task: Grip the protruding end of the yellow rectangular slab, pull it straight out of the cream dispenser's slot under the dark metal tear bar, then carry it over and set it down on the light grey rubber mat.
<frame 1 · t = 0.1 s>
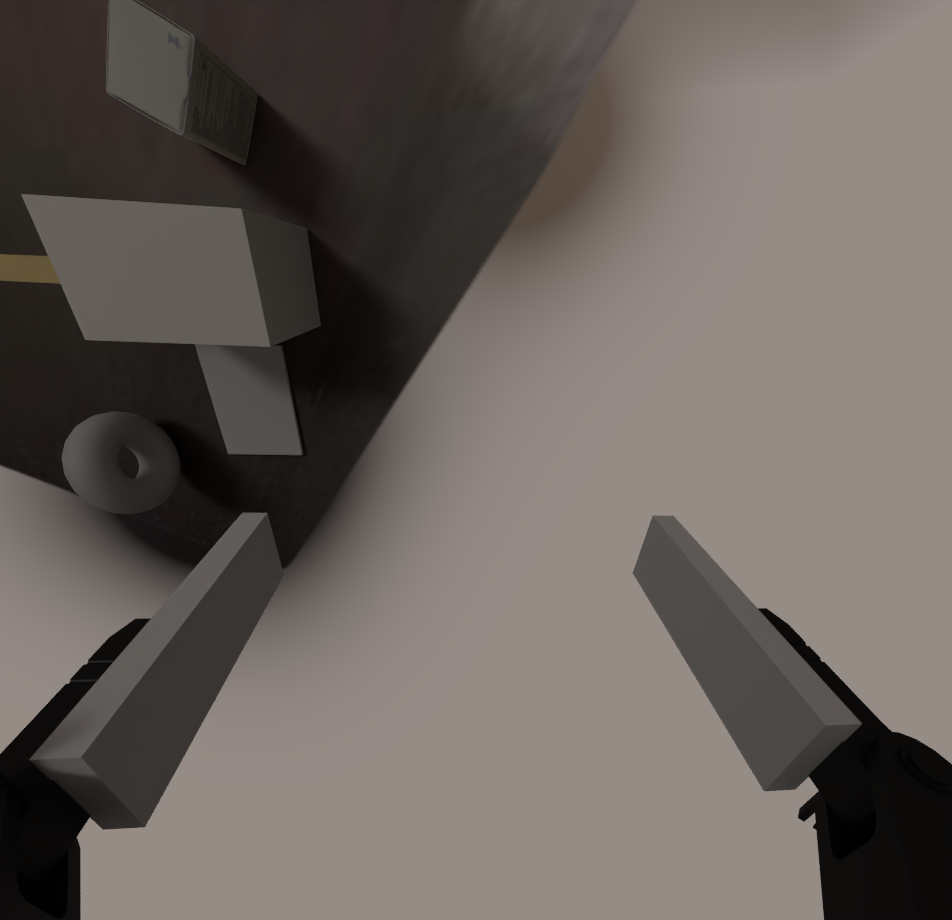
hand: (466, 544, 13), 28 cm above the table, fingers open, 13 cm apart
yellow rectangular slab: (158, 271, 32), on the table
donut: (166, 440, 39), on the table
dispenser: (246, 276, 32), on the table
small box: (225, 117, 28), on the table
mat: (254, 402, 38), on the table
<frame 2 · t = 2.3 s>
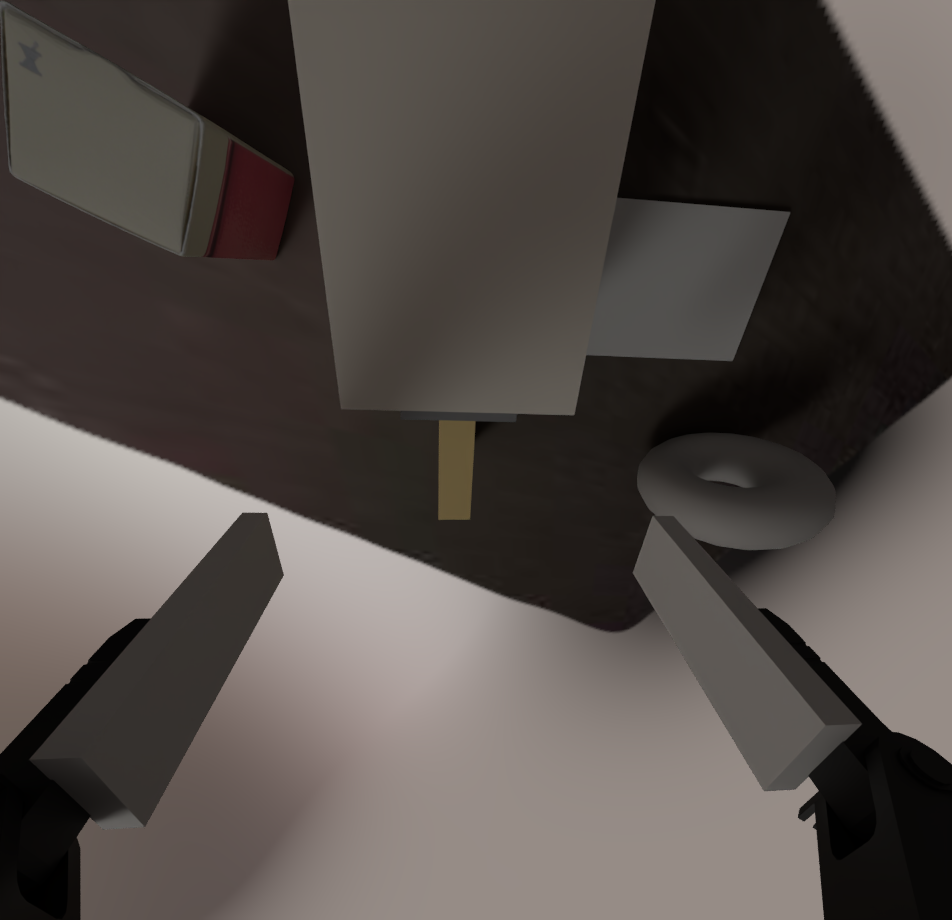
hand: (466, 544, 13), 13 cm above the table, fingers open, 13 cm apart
yellow rectangular slab: (454, 372, 23), on the table
donut: (677, 446, 27), on the table
dispenser: (457, 232, 19), on the table
small box: (237, 193, 18), on the table
mat: (659, 287, 21), on the table
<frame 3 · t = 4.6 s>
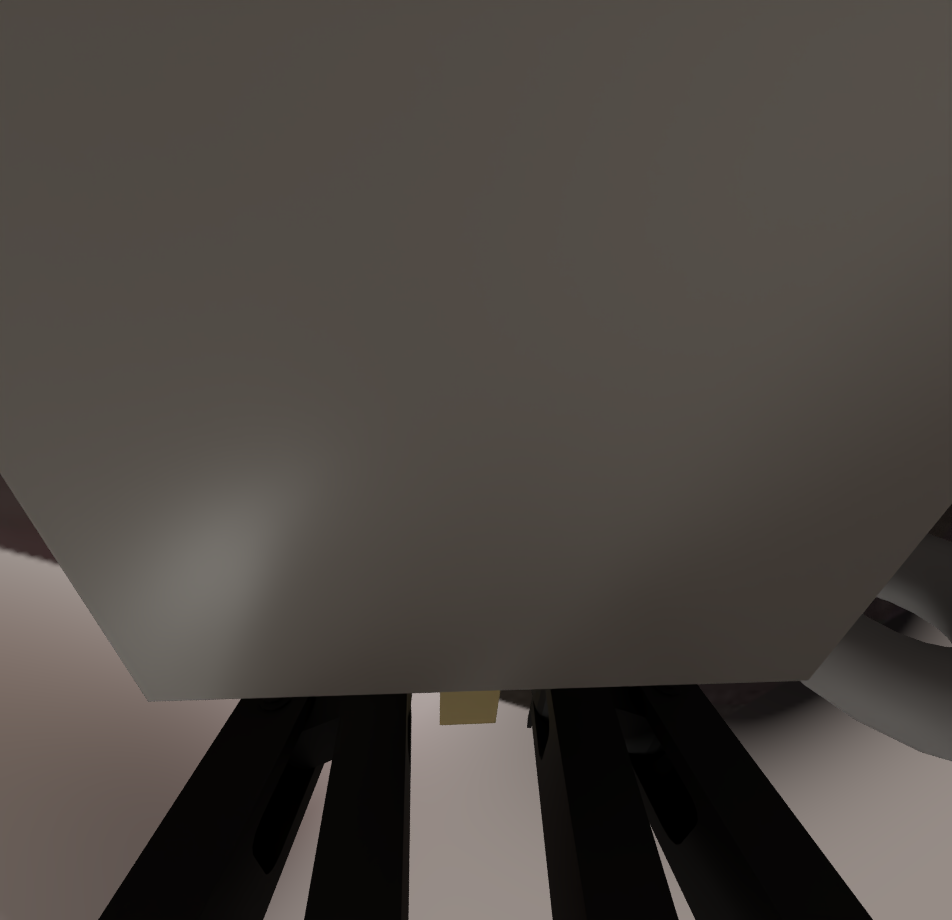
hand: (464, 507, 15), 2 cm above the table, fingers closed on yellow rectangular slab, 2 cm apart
yellow rectangular slab: (465, 435, 15), on the table, touching gripper
donut: (783, 529, 19), on the table
dispenser: (475, 216, 11), on the table
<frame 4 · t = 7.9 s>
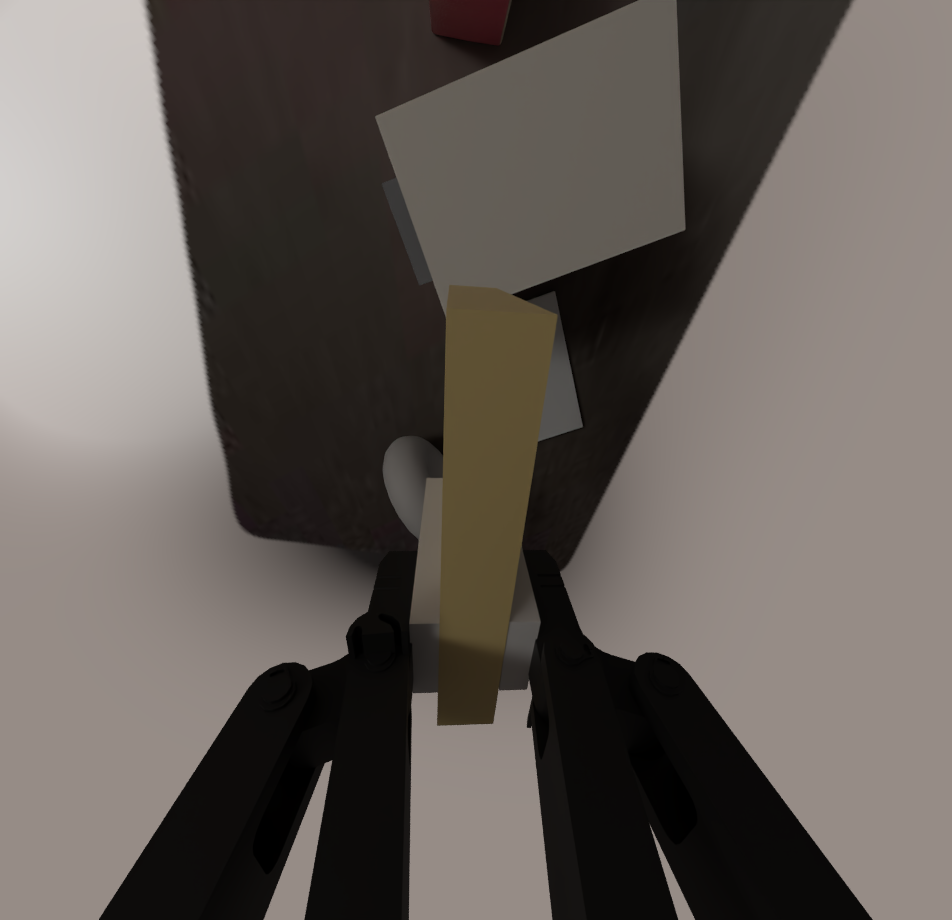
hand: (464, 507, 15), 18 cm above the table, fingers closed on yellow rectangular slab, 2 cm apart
yellow rectangular slab: (465, 434, 15), point 17 cm above the table, touching gripper
donut: (431, 460, 35), on the table
dispenser: (507, 212, 25), on the table
mat: (524, 379, 31), on the table
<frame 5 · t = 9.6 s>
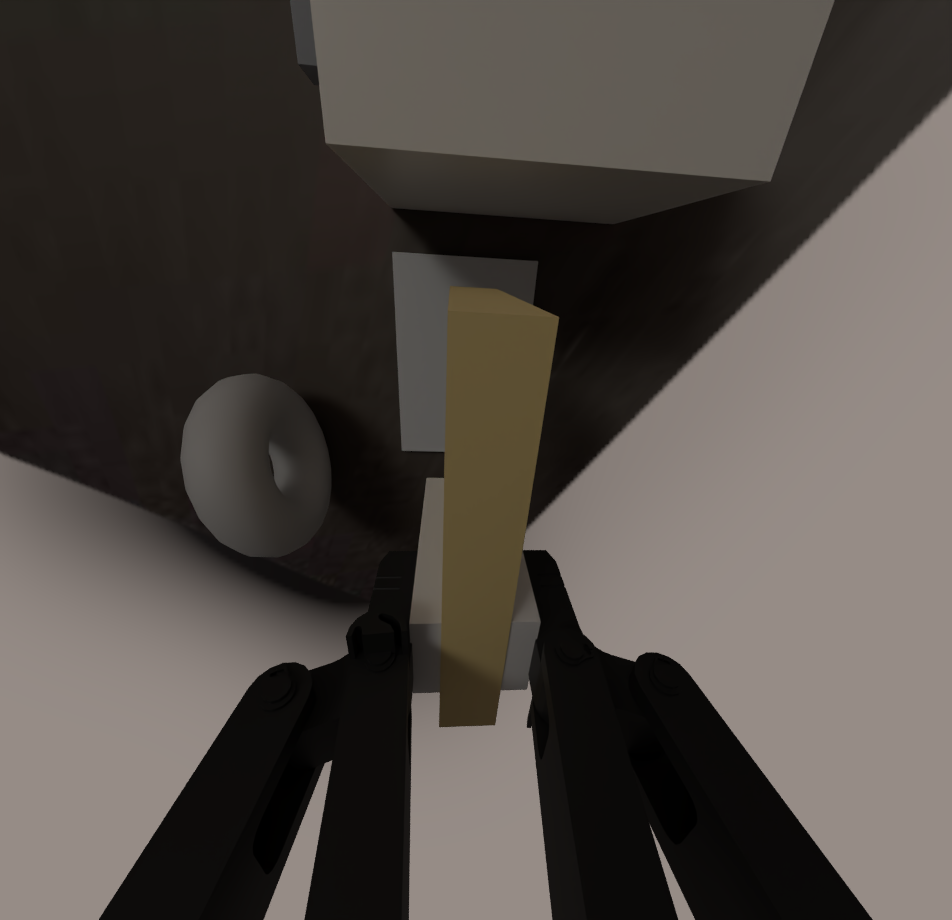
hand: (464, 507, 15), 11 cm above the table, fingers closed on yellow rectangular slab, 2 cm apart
yellow rectangular slab: (466, 435, 15), point 9 cm above the table, touching gripper
donut: (305, 428, 24), on the table
dispenser: (512, 116, 17), on the table
mat: (462, 365, 23), on the table
when the fingers open (3 cm above the table, at t = 11.3 s): yellow rectangular slab drops 1 cm, resting on mat.
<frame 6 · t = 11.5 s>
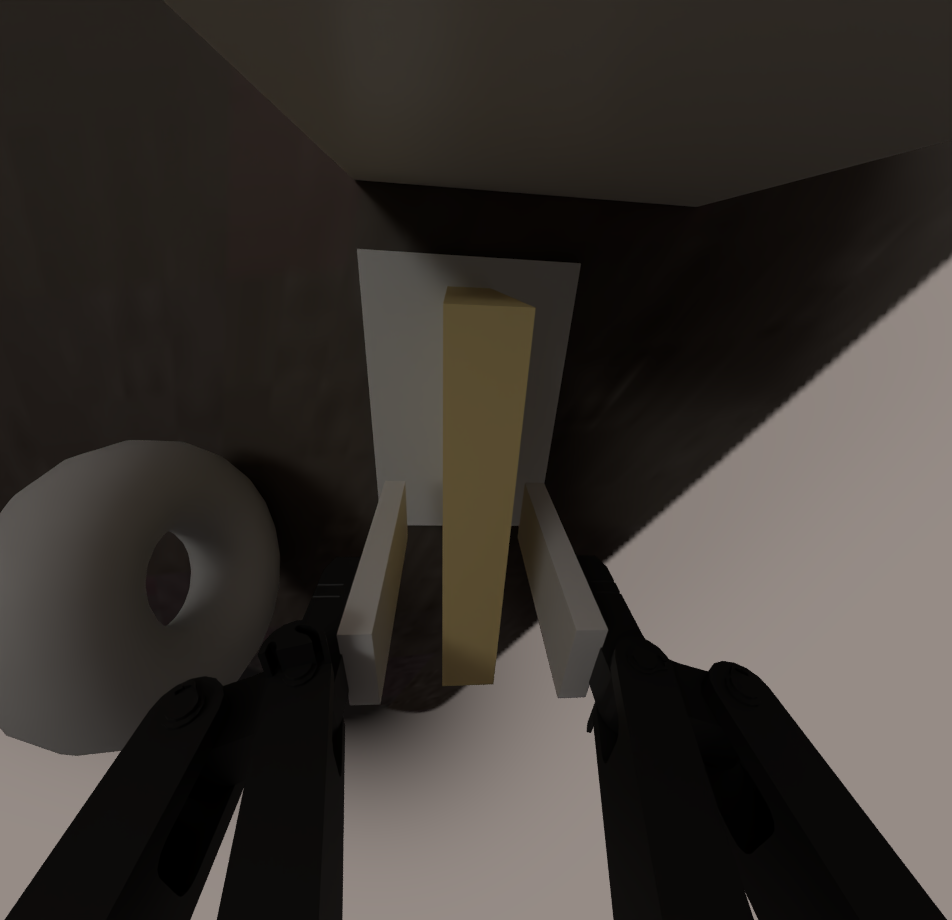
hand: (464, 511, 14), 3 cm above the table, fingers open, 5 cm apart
yellow rectangular slab: (464, 425, 16), resting on mat
donut: (245, 496, 17), on the table
dispenser: (549, 26, 10), on the table
mat: (464, 411, 16), on the table
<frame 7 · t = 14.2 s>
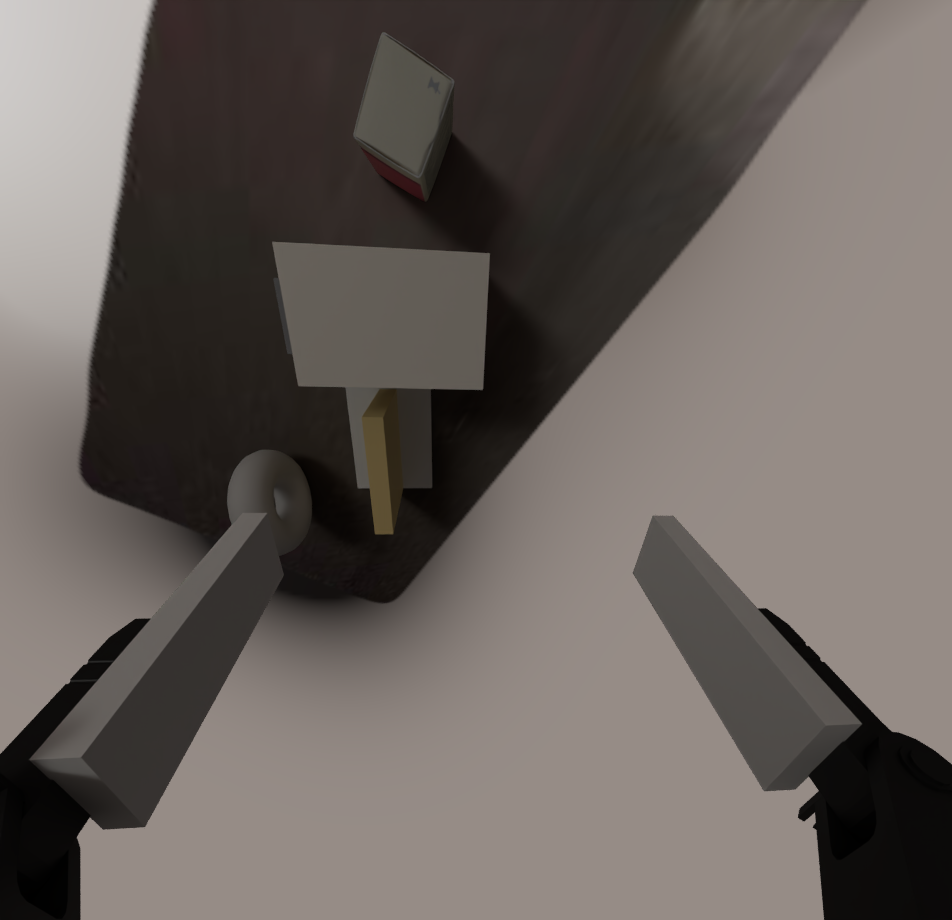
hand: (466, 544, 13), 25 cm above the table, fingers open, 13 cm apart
yellow rectangular slab: (392, 441, 37), resting on mat
donut: (295, 475, 38), on the table
dispenser: (406, 310, 32), on the table
small box: (414, 154, 27), on the table
mat: (392, 435, 37), on the table
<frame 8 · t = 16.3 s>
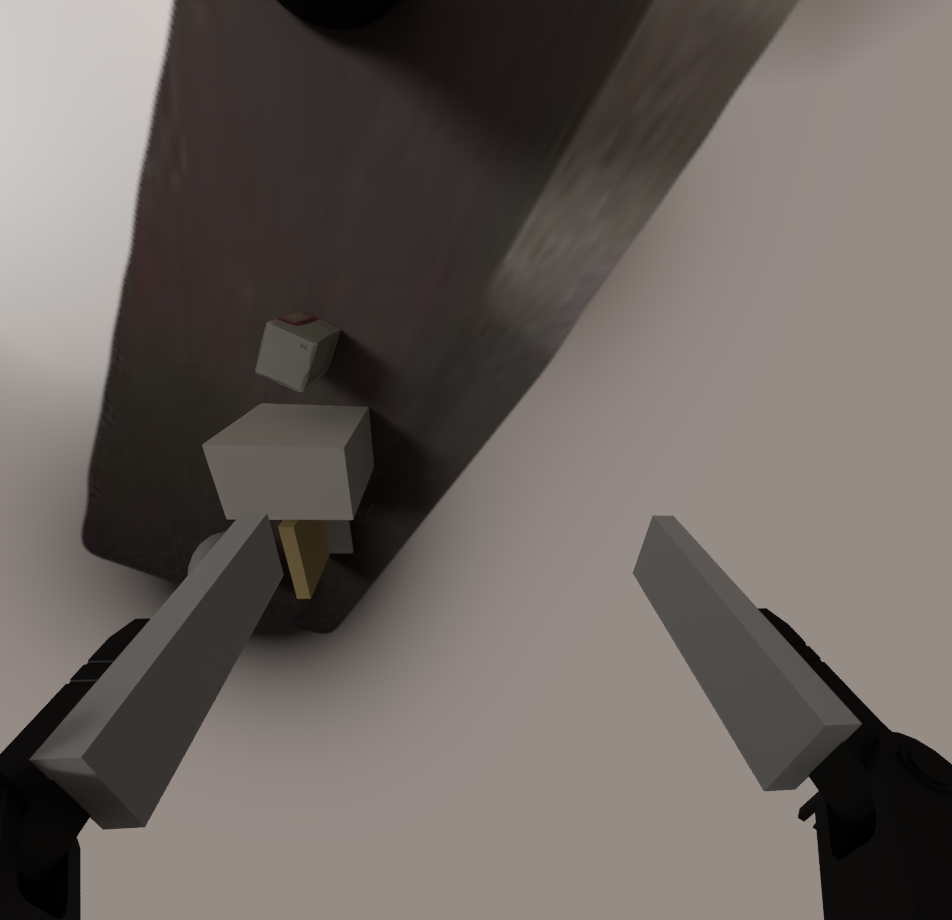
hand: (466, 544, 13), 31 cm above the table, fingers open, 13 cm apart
yellow rectangular slab: (318, 522, 48), resting on mat
donut: (246, 543, 50), on the table
dispenser: (320, 436, 43), on the table
small box: (316, 342, 38), on the table
mat: (318, 517, 48), on the table
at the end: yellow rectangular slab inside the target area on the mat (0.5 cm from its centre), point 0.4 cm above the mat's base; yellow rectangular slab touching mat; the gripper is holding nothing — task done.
